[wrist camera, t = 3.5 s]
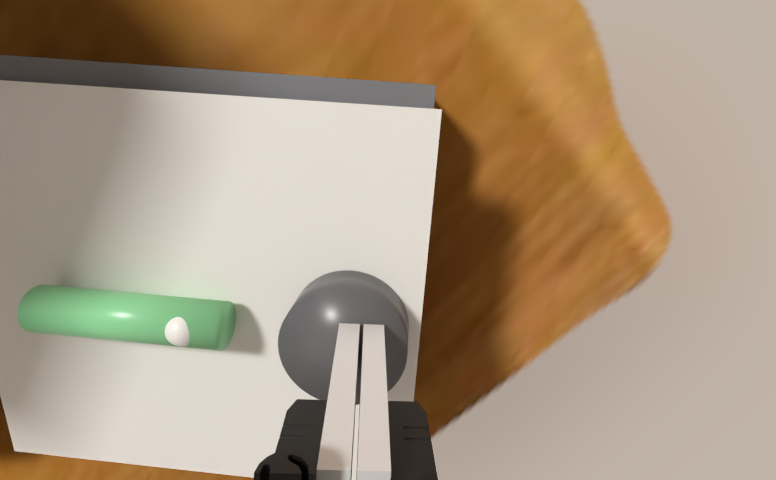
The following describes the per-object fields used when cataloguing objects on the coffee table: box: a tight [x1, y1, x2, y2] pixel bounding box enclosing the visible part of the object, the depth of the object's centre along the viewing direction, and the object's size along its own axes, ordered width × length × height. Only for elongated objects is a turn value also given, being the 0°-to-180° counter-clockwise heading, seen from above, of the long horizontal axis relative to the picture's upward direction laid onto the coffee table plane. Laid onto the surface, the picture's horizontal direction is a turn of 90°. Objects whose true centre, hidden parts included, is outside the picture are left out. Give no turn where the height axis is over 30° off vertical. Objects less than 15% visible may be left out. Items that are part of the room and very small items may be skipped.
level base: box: [0, 55, 436, 109], centre depth 23 cm, size 20×20×4 cm
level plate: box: [0, 80, 442, 480], centre depth 18 cm, size 20×18×4 cm
